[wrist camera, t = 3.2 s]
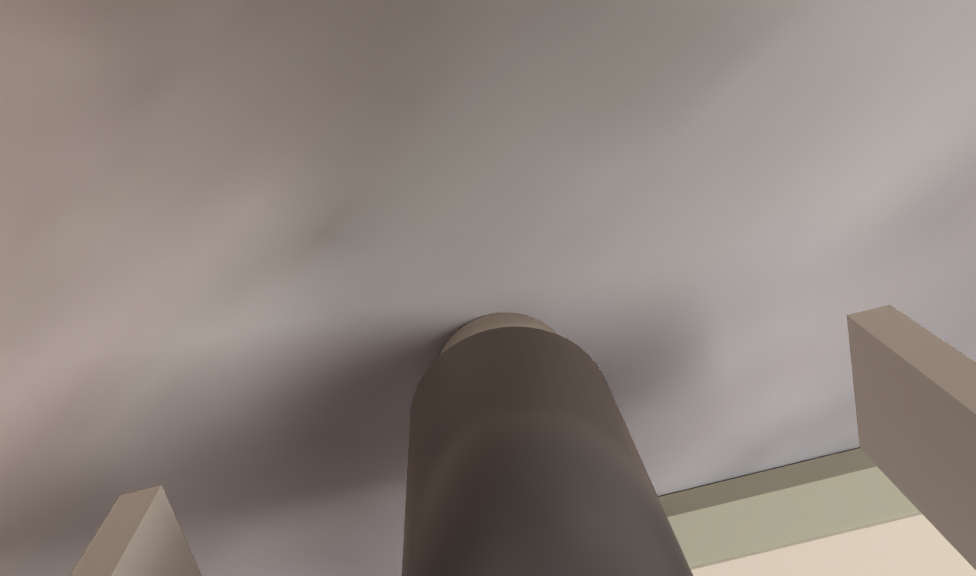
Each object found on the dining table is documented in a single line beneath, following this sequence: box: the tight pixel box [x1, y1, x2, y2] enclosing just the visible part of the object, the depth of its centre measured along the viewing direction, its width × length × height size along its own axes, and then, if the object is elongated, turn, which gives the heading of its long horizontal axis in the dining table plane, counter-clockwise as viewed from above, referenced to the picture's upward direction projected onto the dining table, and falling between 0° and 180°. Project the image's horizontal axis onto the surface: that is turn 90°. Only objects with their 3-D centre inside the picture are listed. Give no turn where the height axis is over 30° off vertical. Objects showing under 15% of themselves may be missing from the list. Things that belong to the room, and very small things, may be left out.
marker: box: [402, 313, 693, 576], centre depth 12 cm, size 4×4×12 cm
